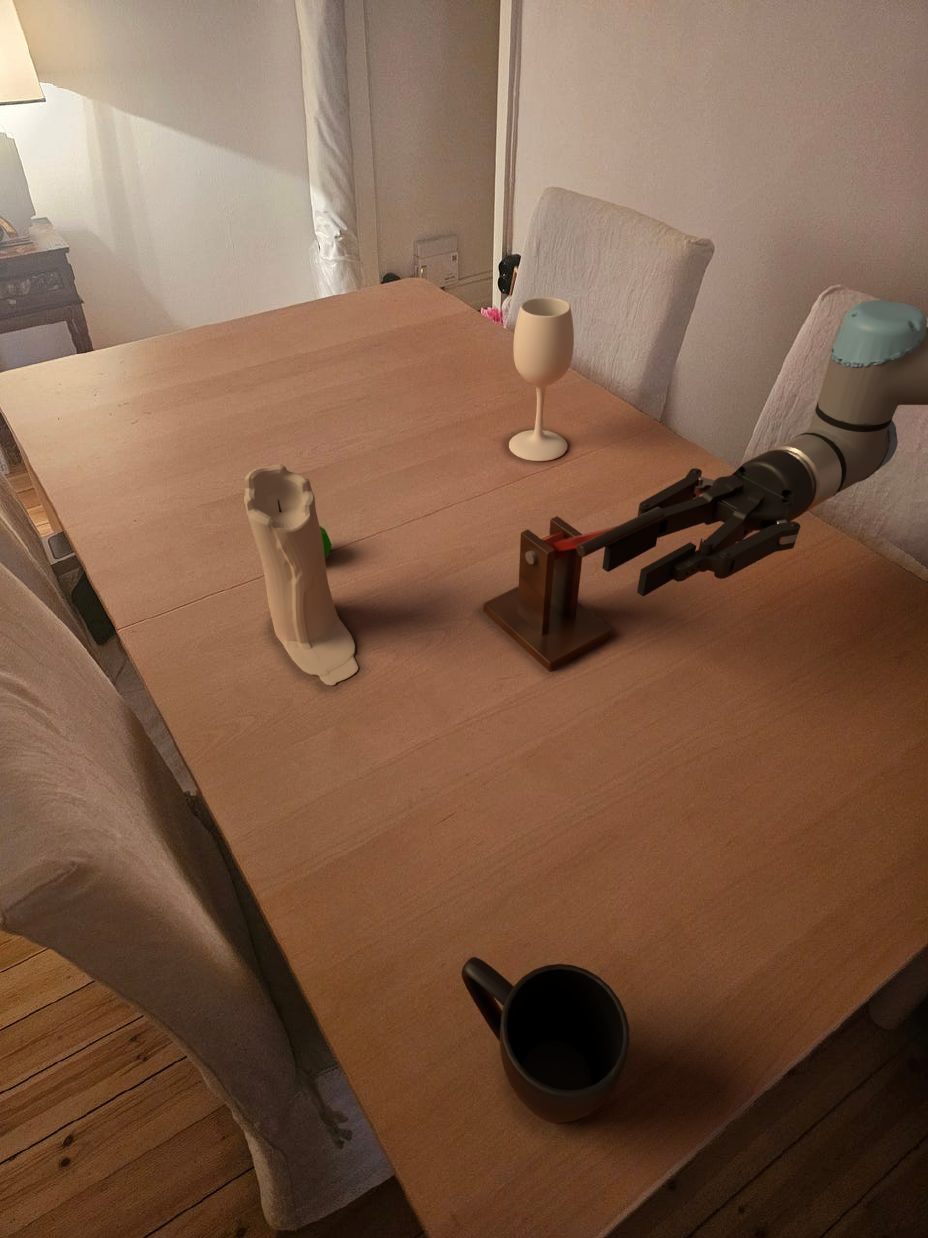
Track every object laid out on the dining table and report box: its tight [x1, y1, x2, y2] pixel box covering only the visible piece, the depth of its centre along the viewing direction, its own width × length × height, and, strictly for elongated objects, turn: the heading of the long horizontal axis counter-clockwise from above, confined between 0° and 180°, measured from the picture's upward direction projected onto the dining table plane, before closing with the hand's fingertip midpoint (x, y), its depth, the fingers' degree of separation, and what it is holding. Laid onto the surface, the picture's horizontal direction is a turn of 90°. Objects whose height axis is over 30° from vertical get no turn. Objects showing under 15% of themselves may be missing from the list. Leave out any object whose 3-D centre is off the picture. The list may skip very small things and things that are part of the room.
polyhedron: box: [319, 525, 332, 559], centre depth 101 cm, size 5×5×5 cm
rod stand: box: [482, 515, 613, 672], centre depth 89 cm, size 12×9×13 cm
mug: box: [461, 956, 631, 1124], centre depth 56 cm, size 8×12×10 cm
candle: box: [243, 463, 359, 686], centre depth 85 cm, size 7×14×20 cm, turn 32°
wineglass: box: [508, 296, 575, 462], centre depth 115 cm, size 9×9×21 cm
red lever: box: [540, 507, 665, 561], centre depth 81 cm, size 14×10×2 cm
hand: (624, 570), depth 75 cm, fingers open, 4 cm apart
